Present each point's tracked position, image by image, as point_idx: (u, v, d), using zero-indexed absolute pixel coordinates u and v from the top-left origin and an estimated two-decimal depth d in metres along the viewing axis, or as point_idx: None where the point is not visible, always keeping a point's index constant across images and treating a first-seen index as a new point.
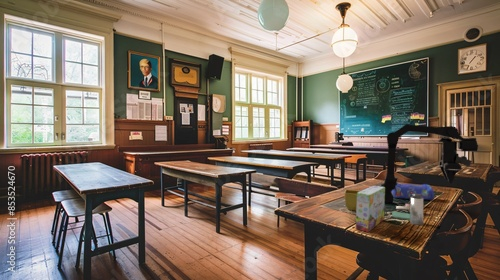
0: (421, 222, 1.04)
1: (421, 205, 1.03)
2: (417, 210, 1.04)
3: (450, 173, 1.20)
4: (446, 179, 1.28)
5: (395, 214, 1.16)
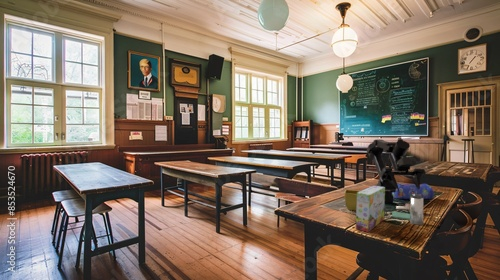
0: (421, 222, 1.04)
1: (421, 205, 1.03)
2: (417, 210, 1.04)
3: (391, 179, 1.18)
4: (418, 188, 1.13)
5: (395, 214, 1.16)
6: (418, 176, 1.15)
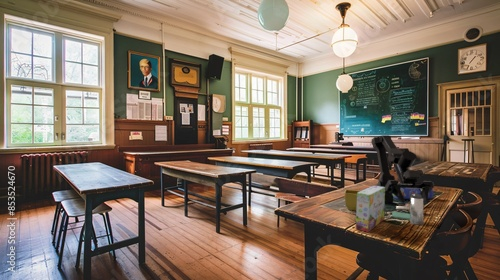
0: (421, 222, 1.04)
1: (421, 205, 1.03)
2: (417, 210, 1.04)
3: (397, 193, 1.11)
4: (426, 202, 1.06)
5: (395, 214, 1.16)
6: (426, 189, 1.08)
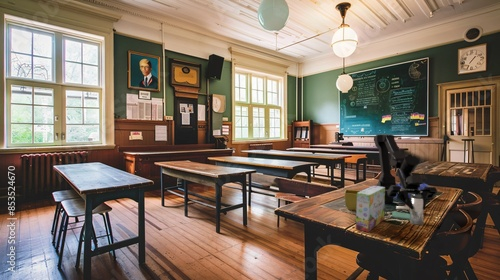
0: (421, 222, 1.04)
1: (421, 205, 1.03)
2: (417, 210, 1.04)
3: (404, 199, 1.09)
4: (423, 208, 1.04)
5: (395, 214, 1.16)
6: (424, 195, 1.06)
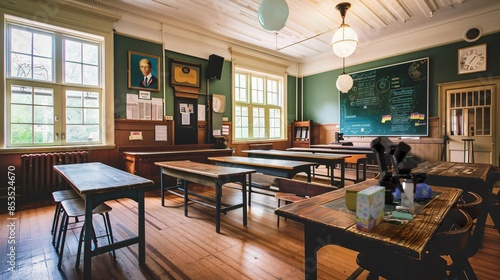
0: (411, 205, 1.10)
1: (411, 189, 1.09)
2: (407, 194, 1.09)
3: (396, 183, 1.14)
4: (413, 192, 1.10)
5: (395, 214, 1.16)
6: (414, 180, 1.12)
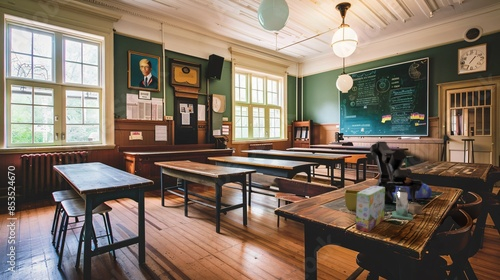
0: (406, 214, 1.13)
1: (405, 198, 1.12)
2: (401, 203, 1.13)
3: (387, 190, 1.18)
4: (413, 200, 1.13)
5: (395, 214, 1.16)
6: (414, 188, 1.15)
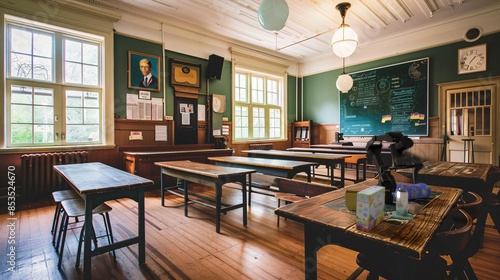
0: (405, 214, 1.13)
1: (405, 198, 1.12)
2: (401, 203, 1.13)
3: None
4: (414, 183, 1.20)
5: (395, 214, 1.16)
6: (415, 171, 1.19)
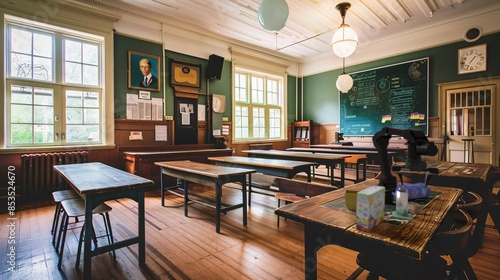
0: (405, 214, 1.13)
1: (405, 198, 1.12)
2: (401, 203, 1.13)
3: None
4: None
5: (395, 214, 1.16)
6: (428, 176, 1.14)
